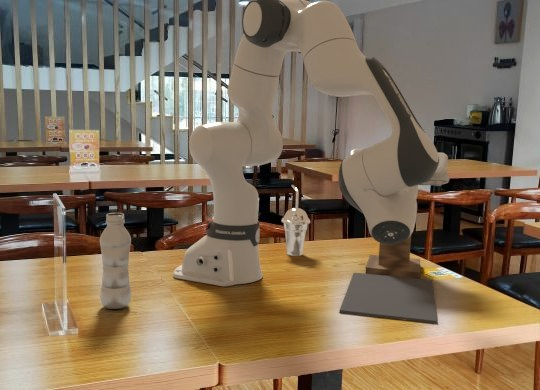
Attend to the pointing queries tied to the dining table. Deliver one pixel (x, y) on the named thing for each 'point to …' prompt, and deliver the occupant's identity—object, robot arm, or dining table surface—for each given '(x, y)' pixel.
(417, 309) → the rubber mat
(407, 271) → the walnut stand
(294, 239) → the cup with straw
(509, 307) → the dining table surface
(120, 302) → the plastic bottle
